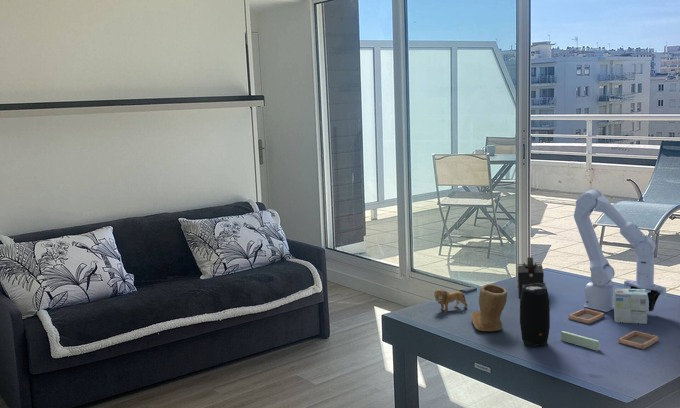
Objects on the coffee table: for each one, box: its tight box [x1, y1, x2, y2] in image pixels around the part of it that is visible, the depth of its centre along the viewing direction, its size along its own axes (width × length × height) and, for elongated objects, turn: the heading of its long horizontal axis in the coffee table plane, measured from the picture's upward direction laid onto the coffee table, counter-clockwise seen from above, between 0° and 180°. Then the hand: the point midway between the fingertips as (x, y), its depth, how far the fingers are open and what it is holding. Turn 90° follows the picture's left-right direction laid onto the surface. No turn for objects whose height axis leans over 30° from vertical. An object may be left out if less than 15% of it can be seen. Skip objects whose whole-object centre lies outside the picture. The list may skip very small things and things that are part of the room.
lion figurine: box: [433, 288, 468, 313], centre depth 262 cm, size 15×5×9 cm, turn 115°
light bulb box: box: [613, 287, 648, 325], centre depth 239 cm, size 11×7×11 cm, turn 71°
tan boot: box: [470, 283, 508, 332], centre depth 241 cm, size 15×12×15 cm
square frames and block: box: [560, 308, 659, 351], centre depth 229 cm, size 32×29×3 cm
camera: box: [516, 256, 547, 299], centre depth 274 cm, size 11×14×15 cm
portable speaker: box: [519, 283, 551, 348], centre depth 222 cm, size 9×9×20 cm
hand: (644, 308), depth 246 cm, fingers open, 4 cm apart
